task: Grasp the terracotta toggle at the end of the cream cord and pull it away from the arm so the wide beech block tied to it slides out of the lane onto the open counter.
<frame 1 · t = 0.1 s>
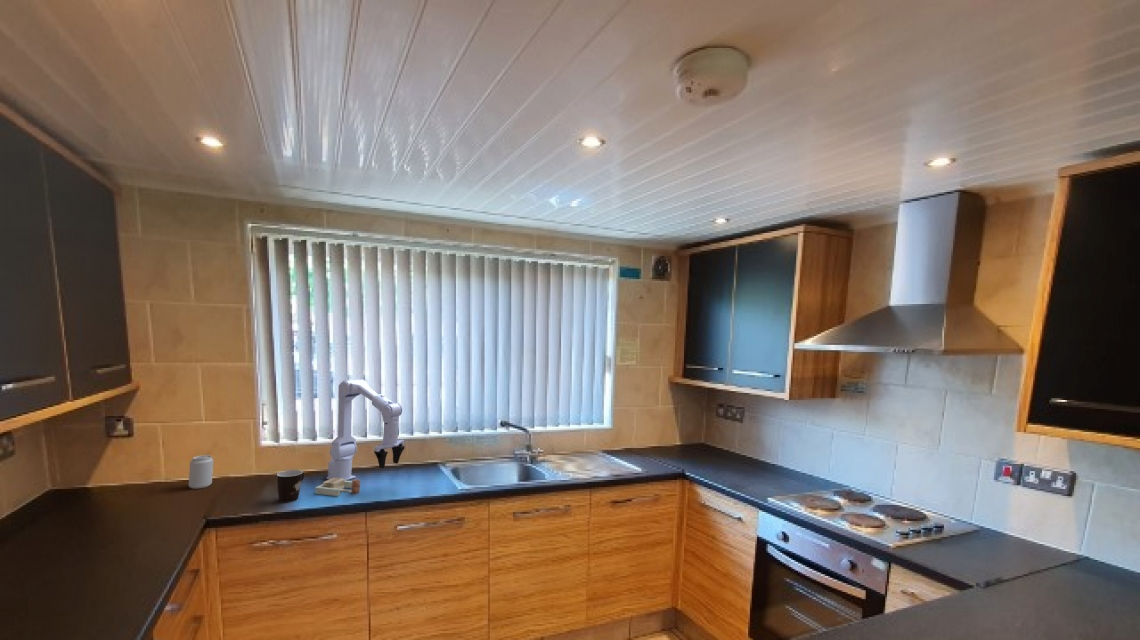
hand: (388, 465, 194), 10 cm above the counter, fingers open, 7 cm apart
lane: (335, 490, 190), on the counter
coffee mug: (292, 498, 180), on the counter
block: (333, 490, 190), on the counter
can: (200, 486, 189), on the counter
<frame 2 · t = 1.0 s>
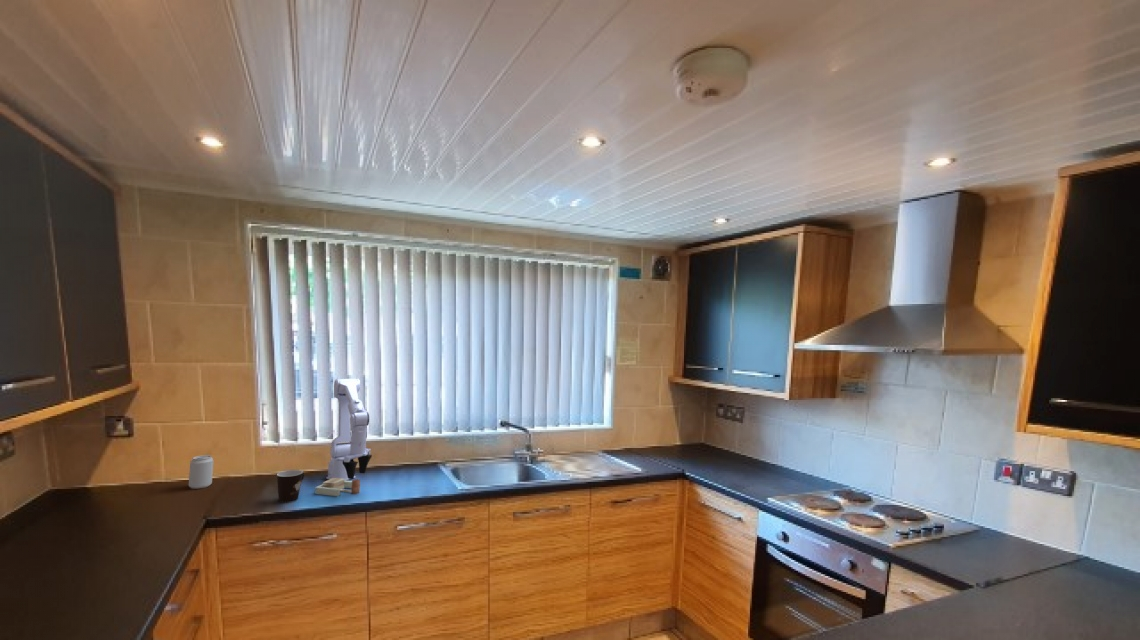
hand: (356, 475, 189), 7 cm above the counter, fingers open, 7 cm apart
nothing on the counter moved.
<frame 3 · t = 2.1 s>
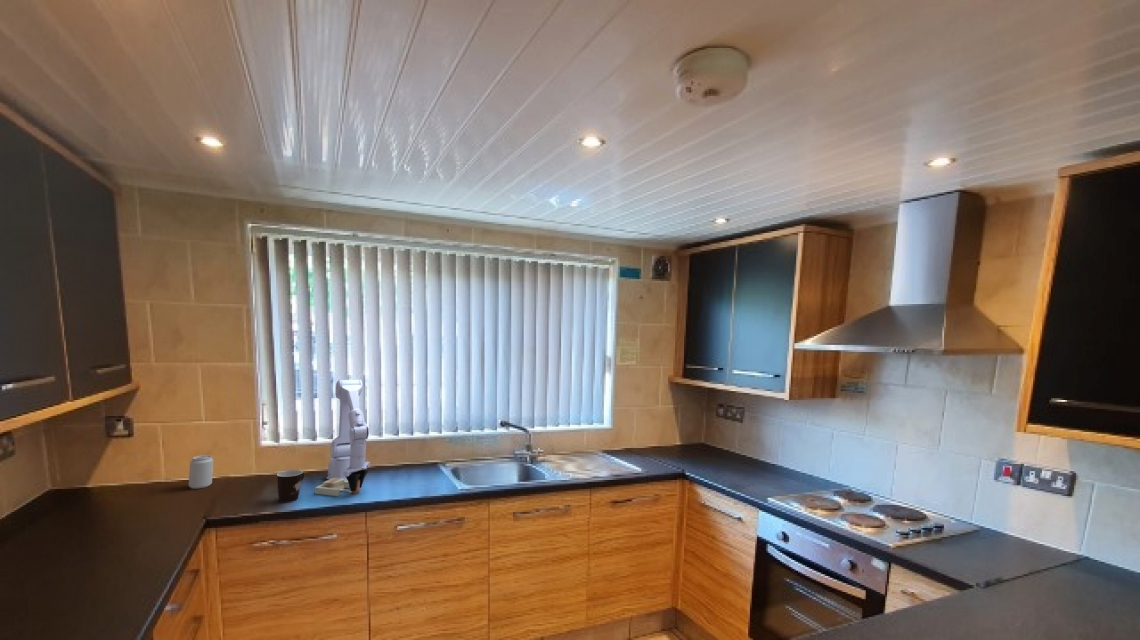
hand: (355, 489, 188), 1 cm above the counter, fingers closed on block, 3 cm apart
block: (333, 490, 190), on the counter, touching gripper
everything else where it was.
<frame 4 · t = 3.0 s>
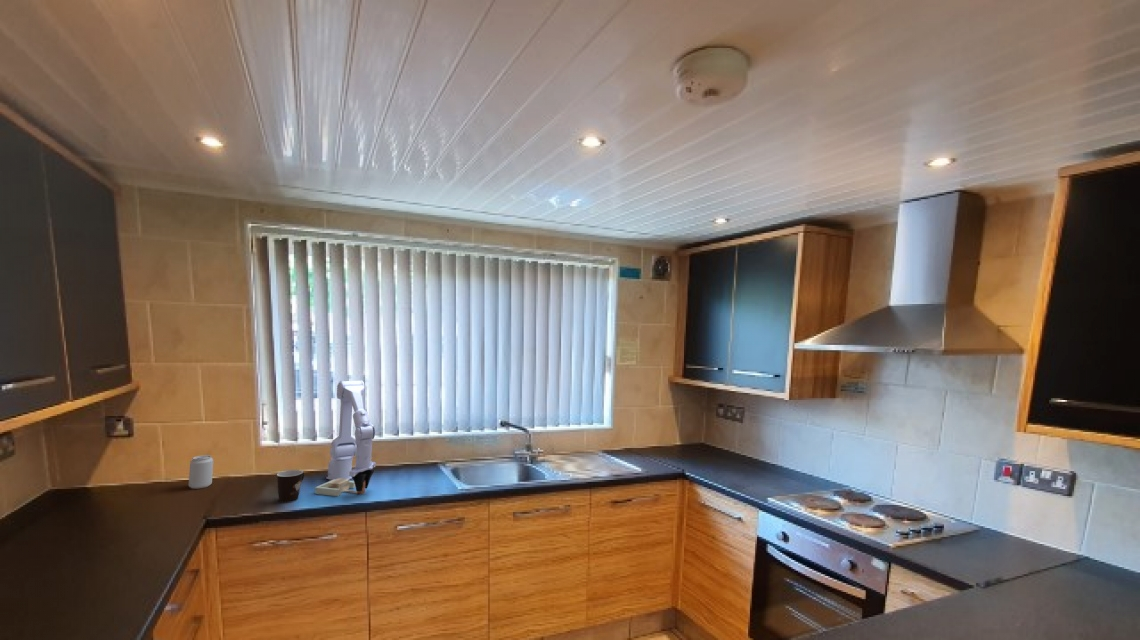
hand: (361, 489, 188), 2 cm above the counter, fingers closed on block, 3 cm apart
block: (338, 491, 190), on the counter, touching gripper
everything else where it was.
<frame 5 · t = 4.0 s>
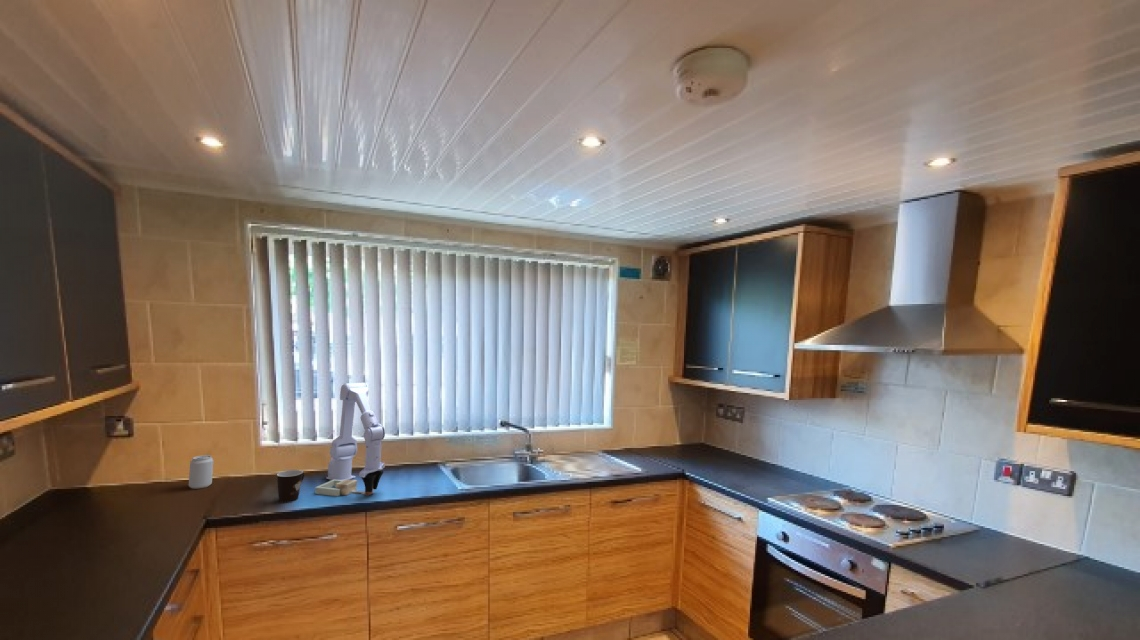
hand: (371, 490, 187), 2 cm above the counter, fingers closed on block, 3 cm apart
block: (345, 492, 189), on the counter, touching gripper
everything else where it was.
when the fingers open (2 cm above the counter, at t = 4.1 s): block stays where it is, on the counter.
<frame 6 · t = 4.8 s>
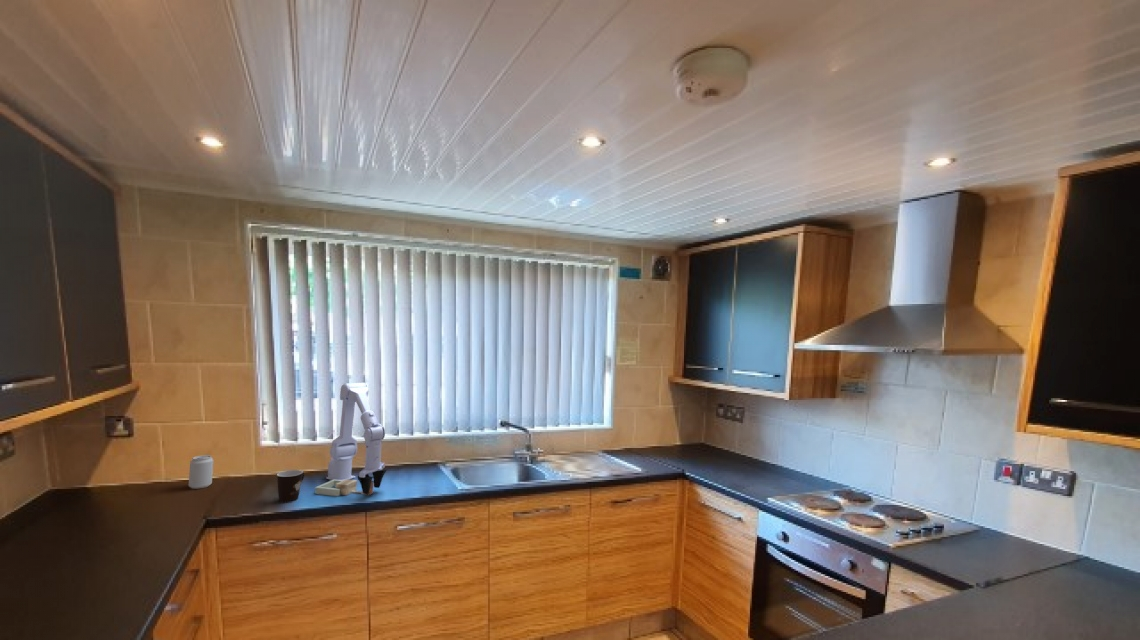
hand: (371, 490, 187), 2 cm above the counter, fingers open, 7 cm apart
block: (345, 492, 189), on the counter
everything else where it was.
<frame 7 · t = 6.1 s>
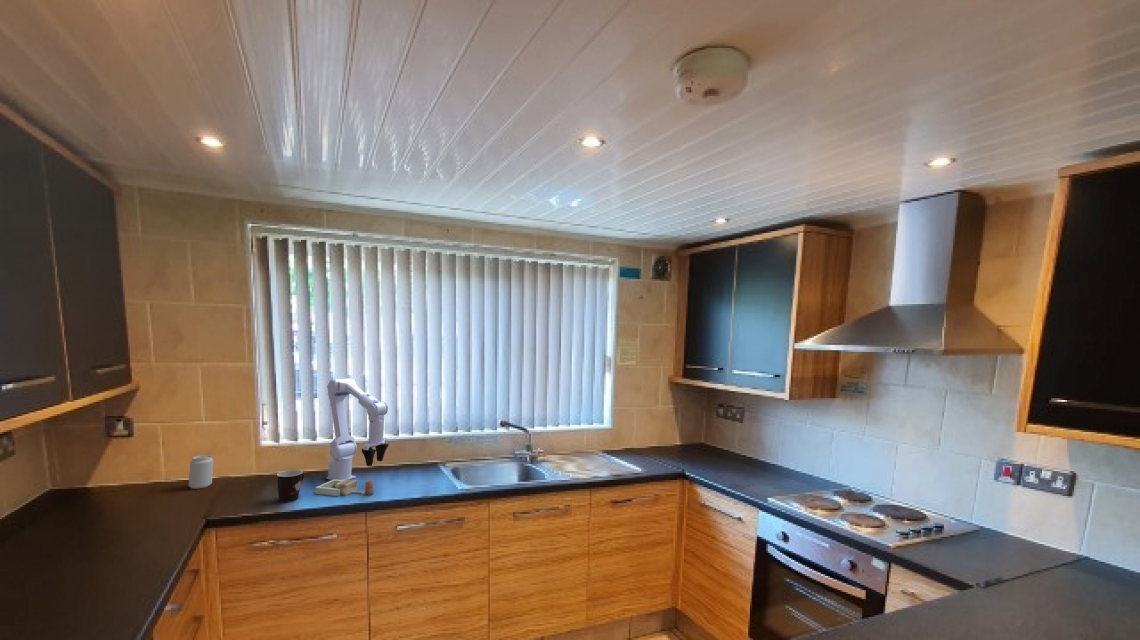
hand: (374, 463, 196), 10 cm above the counter, fingers open, 7 cm apart
nothing on the counter moved.
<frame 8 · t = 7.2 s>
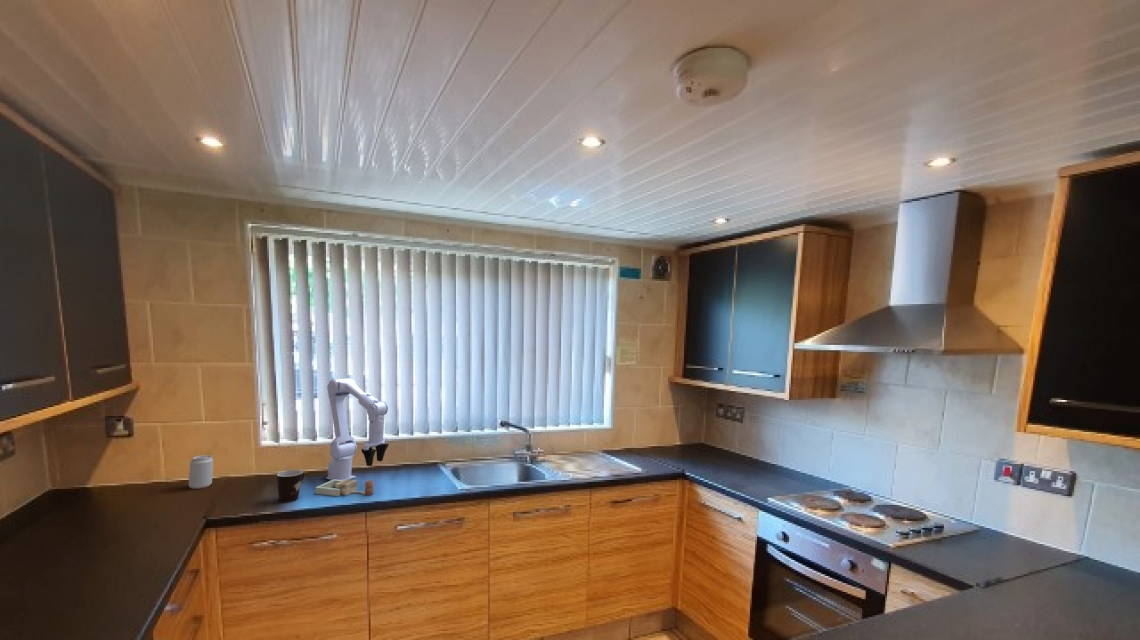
hand: (374, 463, 196), 10 cm above the counter, fingers open, 7 cm apart
nothing on the counter moved.
at the end: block inside the target area (7.9 cm from its centre), on the counter; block tilted 0°; the gripper is holding nothing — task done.
